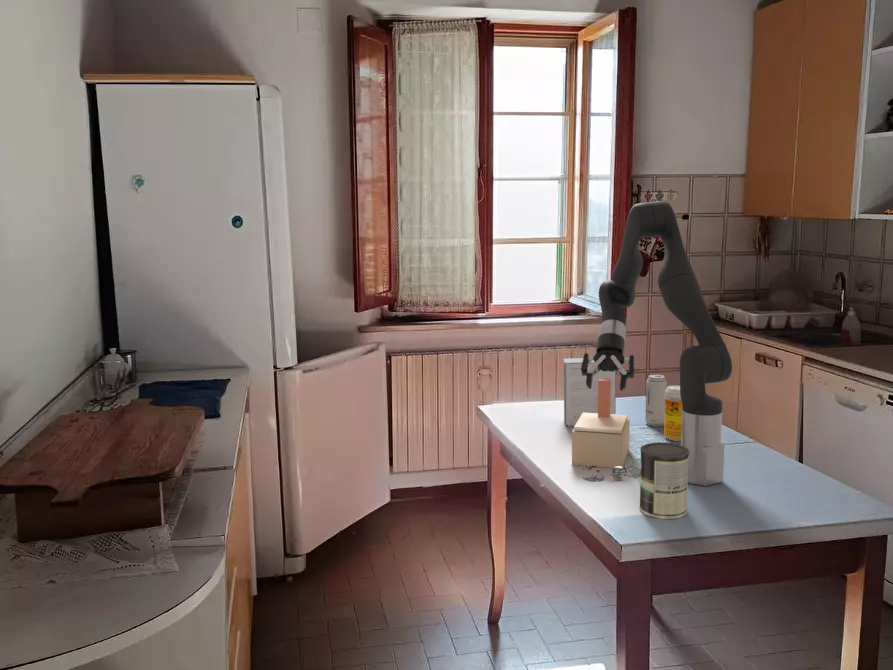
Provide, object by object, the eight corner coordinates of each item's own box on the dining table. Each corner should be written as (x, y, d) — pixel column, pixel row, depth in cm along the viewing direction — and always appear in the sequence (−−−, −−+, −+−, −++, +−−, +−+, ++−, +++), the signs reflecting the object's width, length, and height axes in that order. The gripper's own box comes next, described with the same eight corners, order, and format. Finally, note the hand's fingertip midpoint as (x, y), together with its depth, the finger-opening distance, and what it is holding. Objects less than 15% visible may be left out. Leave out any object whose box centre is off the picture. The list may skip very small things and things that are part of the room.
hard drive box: (613, 420, 251) (614, 357, 248) (615, 426, 243) (616, 362, 240) (563, 419, 253) (563, 357, 249) (564, 426, 245) (564, 362, 242)
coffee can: (630, 512, 177) (632, 450, 175) (651, 498, 185) (653, 439, 182) (675, 523, 170) (677, 459, 168) (694, 508, 178) (696, 447, 176)
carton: (581, 446, 224) (581, 415, 223) (629, 450, 220) (629, 418, 219) (571, 464, 209) (572, 431, 208) (622, 469, 205) (623, 435, 204)
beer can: (664, 441, 228) (665, 389, 226) (663, 434, 234) (665, 384, 232) (686, 442, 227) (688, 390, 224) (685, 436, 233) (686, 385, 230)
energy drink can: (642, 421, 248) (643, 374, 246) (661, 421, 249) (663, 373, 246) (648, 427, 242) (649, 378, 240) (668, 426, 243) (669, 378, 240)
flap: (583, 415, 222) (583, 376, 220) (627, 418, 218) (628, 379, 216) (573, 431, 207) (574, 389, 205) (621, 434, 203) (621, 392, 202)
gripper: (584, 331, 226) (577, 379, 217) (636, 332, 221) (631, 382, 213) (587, 346, 232) (580, 394, 223) (637, 348, 227) (633, 397, 218)
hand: (605, 388), depth 218 cm, fingers open, 8 cm apart
